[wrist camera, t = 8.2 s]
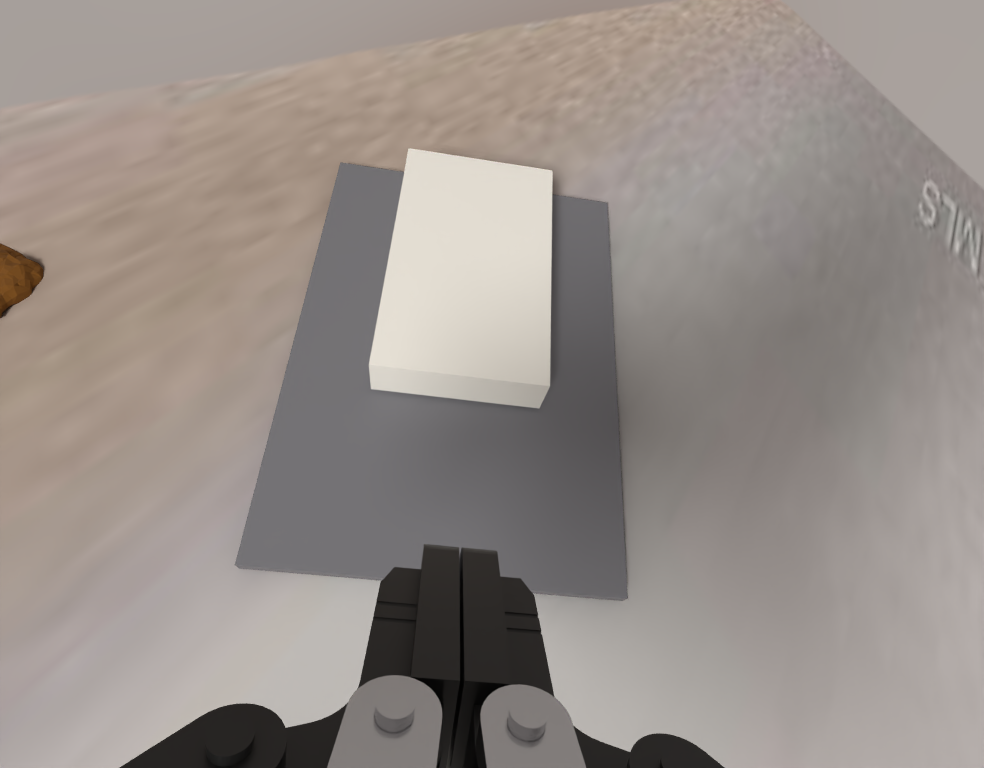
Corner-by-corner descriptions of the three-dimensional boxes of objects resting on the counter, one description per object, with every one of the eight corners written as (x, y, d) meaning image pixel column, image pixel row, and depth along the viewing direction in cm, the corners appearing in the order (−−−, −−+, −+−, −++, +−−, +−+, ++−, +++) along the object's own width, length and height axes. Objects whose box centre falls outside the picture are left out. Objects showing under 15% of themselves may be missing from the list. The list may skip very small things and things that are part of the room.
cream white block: (371, 390, 24) (408, 182, 30) (538, 410, 25) (543, 202, 30) (368, 364, 22) (408, 148, 28) (550, 386, 23) (552, 170, 29)
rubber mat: (341, 171, 30) (340, 162, 30) (603, 211, 32) (607, 202, 31) (239, 568, 21) (234, 565, 20) (622, 600, 22) (627, 598, 21)
